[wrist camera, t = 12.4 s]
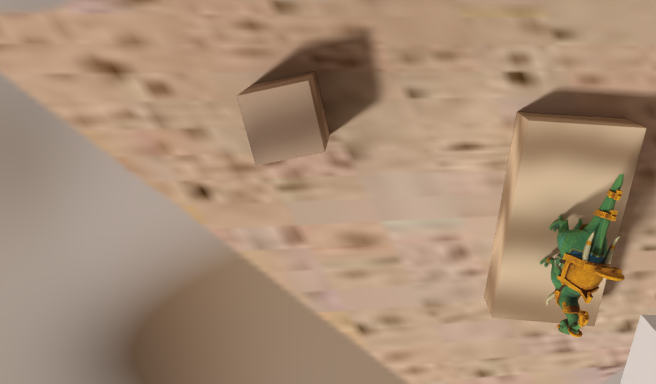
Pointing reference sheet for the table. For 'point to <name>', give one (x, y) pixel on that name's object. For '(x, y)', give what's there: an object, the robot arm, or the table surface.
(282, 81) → the grey brown cube
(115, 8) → the table surface
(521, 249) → the beige rectangular block
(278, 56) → the table surface
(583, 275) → the figurine
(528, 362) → the table surface
